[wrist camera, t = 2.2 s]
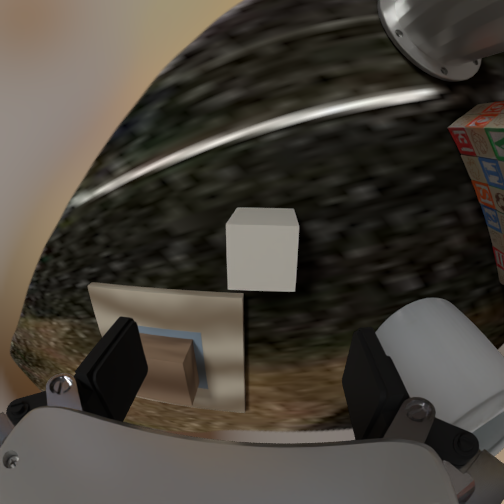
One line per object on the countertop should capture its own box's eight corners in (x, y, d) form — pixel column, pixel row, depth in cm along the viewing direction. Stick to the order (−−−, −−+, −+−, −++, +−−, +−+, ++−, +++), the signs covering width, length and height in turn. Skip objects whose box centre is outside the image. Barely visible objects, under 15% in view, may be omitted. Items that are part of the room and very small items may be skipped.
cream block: (237, 207, 25) (226, 224, 19) (293, 208, 25) (299, 226, 19) (237, 259, 27) (227, 289, 21) (291, 261, 26) (295, 291, 21)
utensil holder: (473, 281, 25) (562, 370, 9) (449, 372, 30) (495, 462, 14) (365, 302, 27) (429, 444, 11) (356, 395, 32) (380, 509, 16)
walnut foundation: (135, 332, 30) (121, 353, 26) (192, 339, 29) (182, 363, 25) (147, 374, 32) (136, 396, 28) (199, 382, 32) (192, 406, 28)
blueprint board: (91, 282, 29) (87, 286, 28) (243, 293, 28) (242, 298, 27) (125, 389, 35) (123, 393, 34) (245, 407, 34) (244, 413, 33)
